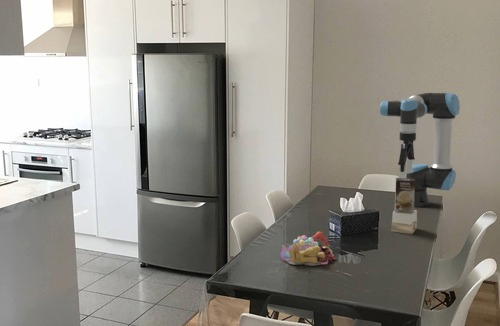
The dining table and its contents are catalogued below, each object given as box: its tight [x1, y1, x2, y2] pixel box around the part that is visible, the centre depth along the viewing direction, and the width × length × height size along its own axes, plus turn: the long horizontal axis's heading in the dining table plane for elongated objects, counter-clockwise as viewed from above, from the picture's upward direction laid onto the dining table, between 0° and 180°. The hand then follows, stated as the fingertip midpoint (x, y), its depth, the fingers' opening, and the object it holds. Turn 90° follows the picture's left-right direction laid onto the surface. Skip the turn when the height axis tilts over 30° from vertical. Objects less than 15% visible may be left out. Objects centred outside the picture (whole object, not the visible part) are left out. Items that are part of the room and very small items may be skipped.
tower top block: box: [391, 209, 418, 225], centre depth 261 cm, size 9×9×5 cm
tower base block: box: [390, 219, 418, 235], centre depth 262 cm, size 10×10×5 cm
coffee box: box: [394, 177, 415, 213], centre depth 259 cm, size 9×6×16 cm
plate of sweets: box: [280, 231, 337, 267], centre depth 229 cm, size 25×24×9 cm
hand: (405, 175), depth 257 cm, fingers open, 13 cm apart
